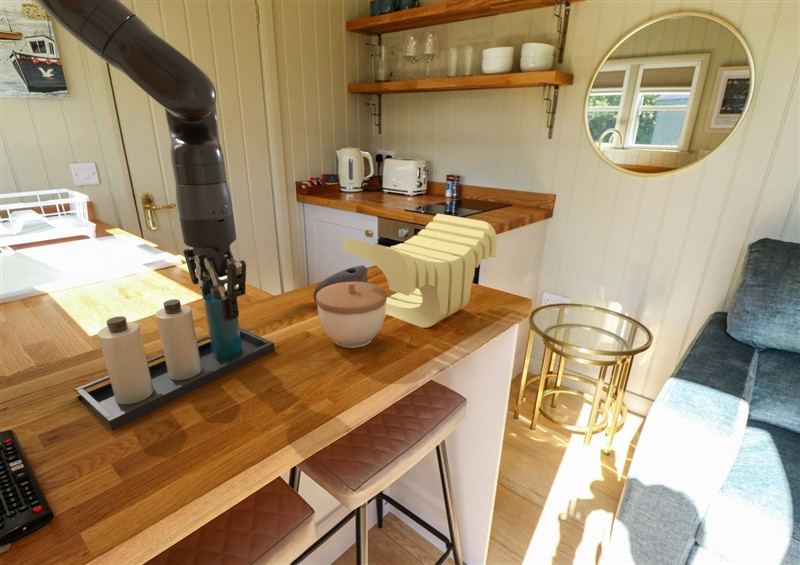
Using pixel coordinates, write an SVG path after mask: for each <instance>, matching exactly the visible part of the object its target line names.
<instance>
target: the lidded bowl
mask: <svg viewBox="0 0 800 565" xmlns="http://www.w3.org/2000/svg"><path fill="white" fill-rule="evenodd" d="M387 297H388V293H387V291H386V290H385V289H384V287H382V286H381V285H378V284H375V283H371V282H367V283H366V282H342V283H336V284H332V285H329V286H326V287H324V288H322V289H321V290H320V291H319V292H318V293H317V295H316V302H317V303H316V302H315V303H316V305H317V314H318V320H319V323H320V327H321V328H322V330H323V332H324V333H325V335H326V336H327V337H328V338H329V339H331V340H332V341H333V342H334V344H336V345H337V346H339V347H342V348H345V349H346V348H347V349H355V348H356V349H357V348H363V347H365V346H367V345H369V344H370V343H371V342H372V341H373V339H374V338H375V337H376V336H377V335H378V334H379V333H380V332H381V330H382V328H383V326H384V324H385V319H386V314H385V313H386V300H387Z"/></svg>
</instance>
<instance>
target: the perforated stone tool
mask: <svg viewBox="0 0 800 565" xmlns="http://www.w3.org/2000/svg"><path fill="white" fill-rule="evenodd" d="M368 281H369V280H368V268H367V267H366V266H365V265H363V264H362V265H357V266H353V267H349V268H347V269H346V268H345V269H343V270H340V271H338V272H336V273H334V274H332V275H329V276H328V277H327V278H325V279H323V280H322V281H321V282H320V283H318V284H317V286H316V287H315V288H314V290H313V300H314V301H313V302H315V303H316V304H317V302H316V295H317V293H318V292H319V291H320V290H321V289H322V288H324V287H326V286H329V285H332V284H336V283H342V282H366V283H369V282H368Z"/></svg>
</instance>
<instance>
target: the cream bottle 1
mask: <svg viewBox="0 0 800 565" xmlns="http://www.w3.org/2000/svg"><path fill="white" fill-rule="evenodd" d="M106 325H107V326H105V327H103V328H102V329H100V330H98V332H97V339H98V342H99V346H100V349H101V353H102V356H103V360H104V365H105V368H106V372H107V376H108V375H109V379H108V380H109V383H111V386H112V390H113V393H114V397H115V400H116V402H117V403H119V404H124V405H126V404H134V403H137V402H140V401H142V400H144V399H146V398H148V397H149V396H150V395H151V394H152V393H153V391H154V388H153V384H152V379H151V375H150V371H149V367H150V366H149V363H148V362H147V360H148V359H147V354H146V350H145V345H144V341H143V337H142V332H141V329H140V325H139V324H138V323H137V322H134V321H127V317H126V316H123V315H120V316H114V317H111V318H108V319H107V320H106Z"/></svg>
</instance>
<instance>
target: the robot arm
mask: <svg viewBox="0 0 800 565" xmlns="http://www.w3.org/2000/svg"><path fill="white" fill-rule="evenodd" d="M35 1H36V3H37V4H38V5H39V6H40V7H41V8H42V9H43V10H44V11H45V12H46V13H47V14H48V15H49V16H50V17H51V18H52V19H53V20H54V21H55V22H56V23H57V24H58V25H59V26H60V27H61V28H63V29H64V30H65V31H66V32H67V33H69V34H70V35H71V36H72V37H73V38H75V39H76V40H77V41H78V42H80V43H81V44H83V46H84V47H86V48H87V49H88V50H90V51H91V52H92V53H94V54H95V55H97V57H99V58H100V59H102V60H103V61H104V62H105V63H107V64H108V65H110V66H111V67H113V68H114V69H116V70H117V71H119V72H121V73H122V74H124V75H125V76H127V77H128V78H129V80H131V81H132V82H134V83H135V85H137V86H138V87H139V88H140V89H141V90H142V91H144V92H145V93H146V94H147V95H148V96H150V97H151V98H152V99H153V100H154V101H155V102H156V103H158V104H159V105H160V106H161V107H163V109H164V113H165V118H166V122H167V128H168V133H169V137H170V161H171V168H172V173H173V178H174V184H175V201H176V206H177V213H178V218H179V223H180V229H181V230H180V231H181V235H182V240H183V244H184V245H185V246H187V247H189V248H186V249H183V256H184V259H185V262H186V266H187V269H188V273H189V276H190V280H191V283H192V284H193V285H194V286H196V285H197V287H198V290H199V291H201V294H202V298H203V297H204V296H205V295H207V294H209V293H211V287H213V286H216V287H218V289H219V292H220V294H221V297H222V299H221V300H222V306H223V313H224V319H226V320H228V321H230V320H233V319H235V318H237V317H238V318H239V315H240V311H239V304H238V297H241V296H245V295H246V288H247V287H246V286H247V284H246V283H247V279H246V278H247V263H246V261H245V260H243V259H242V260H237V259H235V258H234V254H233V252H232V249H231V246H232V244H233V243H234V242H236V240H237V232H236V226H235V225H236V224H235V217H234V209H233V203H232V201H233V200H232V195H231V193H230V188H229V185H228V178H227V171H226V163H225V157H224V152H223V149H222V146H221V143H220V136H219V125H218V124H219V123H218V114H217V92H216V88H215V85H214V83H213V81H212V80H211V78H210V77H209V76H208V74H207V73H206V72H204V71H203V70H202V69H201V68H200V67H199V66H198V65H197V64H195V63H194V62H193V61H192V60H190V59H189V58H188V57H187V56H185V54H184V53H181V51H180V50H178V49H177V48H176V47H174V46H173V45H172V44H170V43H168V42H167V41H166V40H165V39H163V38H162V37H160V36H159V35H158V34H156V33H155V32H154V31H153V30H152V29H151V28H150V27H149V25H148V24H146V23H145V22H144V21H143V20H142V19H141V18H140V17H139V16H138V15H137V14H136V13H134V12H133V11H132V10H131V9H129V7H127V6H126V5H125V3H123V2H122V1H121V0H35ZM224 277H226V278H224ZM220 278H224V279H220ZM225 285H226V286H225ZM202 302H203V303H204V301H202Z"/></svg>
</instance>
